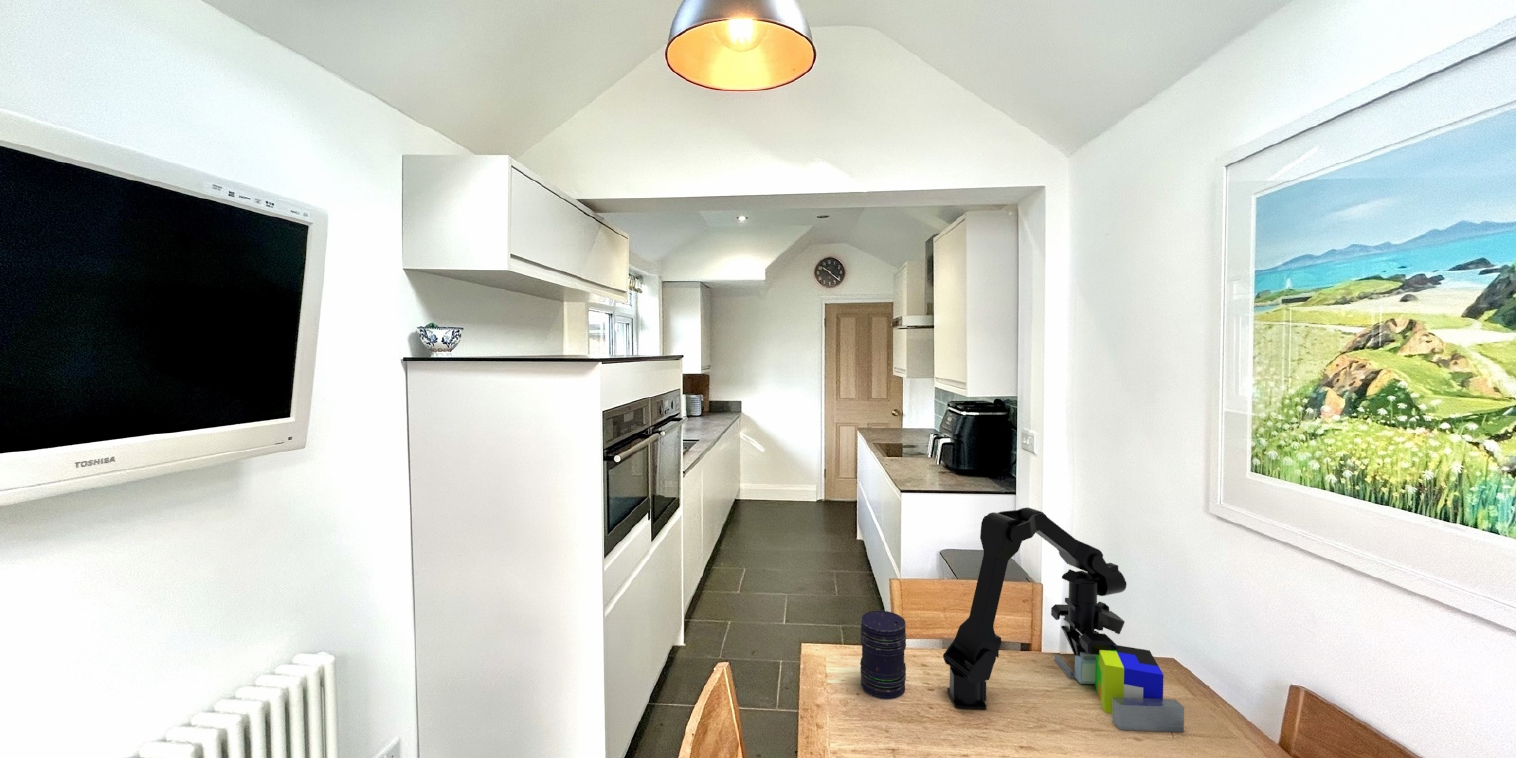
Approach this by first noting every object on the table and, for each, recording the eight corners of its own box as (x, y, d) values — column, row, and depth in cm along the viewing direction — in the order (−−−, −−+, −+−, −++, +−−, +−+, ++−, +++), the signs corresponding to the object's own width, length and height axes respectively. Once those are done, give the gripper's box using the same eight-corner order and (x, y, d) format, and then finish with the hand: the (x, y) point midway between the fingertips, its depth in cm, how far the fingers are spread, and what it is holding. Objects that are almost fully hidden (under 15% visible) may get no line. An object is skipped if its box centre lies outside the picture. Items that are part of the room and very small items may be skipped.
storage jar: (856, 694, 121) (856, 626, 121) (864, 670, 131) (864, 607, 130) (903, 704, 118) (903, 634, 117) (908, 678, 127) (908, 614, 126)
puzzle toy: (1162, 724, 111) (1163, 674, 111) (1104, 712, 115) (1105, 664, 115) (1148, 695, 120) (1149, 650, 120) (1095, 685, 124) (1096, 641, 124)
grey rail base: (1113, 729, 109) (1114, 704, 109) (1054, 660, 134) (1054, 640, 134) (1189, 732, 108) (1190, 707, 108) (1115, 662, 133) (1116, 642, 133)
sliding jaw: (1080, 683, 124) (1081, 657, 124) (1074, 677, 127) (1075, 651, 127) (1136, 685, 123) (1137, 659, 123) (1129, 678, 126) (1130, 652, 126)
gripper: (1144, 618, 119) (1142, 689, 120) (1097, 582, 138) (1095, 644, 139) (1089, 616, 120) (1088, 687, 121) (1050, 581, 139) (1049, 642, 139)
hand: (1081, 663), depth 130 cm, fingers closed
